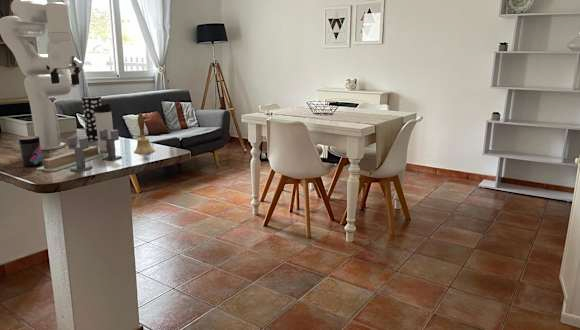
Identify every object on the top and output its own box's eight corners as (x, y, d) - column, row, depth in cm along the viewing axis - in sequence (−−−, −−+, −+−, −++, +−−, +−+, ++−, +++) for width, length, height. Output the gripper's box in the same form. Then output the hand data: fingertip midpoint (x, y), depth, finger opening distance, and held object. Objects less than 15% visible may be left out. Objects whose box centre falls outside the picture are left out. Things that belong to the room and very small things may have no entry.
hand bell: (134, 154, 177) (130, 115, 173) (133, 150, 185) (129, 113, 181) (155, 152, 181) (152, 114, 177) (153, 148, 188) (150, 111, 184)
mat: (36, 170, 155) (36, 168, 155) (89, 154, 179) (89, 152, 179) (54, 171, 153) (54, 170, 153) (106, 155, 177) (105, 153, 177)
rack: (69, 170, 154) (64, 138, 151) (110, 157, 173) (106, 128, 170) (83, 171, 152) (78, 139, 149) (122, 158, 171) (119, 129, 169)
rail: (44, 168, 155) (42, 159, 155) (92, 153, 177) (91, 146, 177) (50, 168, 154) (49, 160, 154) (98, 153, 177) (97, 146, 176)
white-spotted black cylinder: (93, 137, 214) (88, 96, 209) (109, 137, 213) (104, 96, 208) (83, 141, 207) (77, 98, 202) (99, 141, 205) (94, 98, 200)
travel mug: (110, 153, 180) (105, 104, 175) (96, 152, 181) (90, 104, 176) (119, 150, 186) (114, 102, 181) (105, 149, 187) (99, 102, 182)
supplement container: (27, 168, 157) (22, 140, 155) (19, 166, 161) (14, 138, 159) (46, 164, 162) (42, 137, 160) (38, 162, 166) (34, 135, 164)
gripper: (33, 37, 163) (40, 83, 168) (70, 37, 158) (76, 86, 162) (50, 37, 170) (55, 82, 174) (86, 38, 165) (91, 84, 169)
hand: (65, 84), depth 168 cm, fingers open, 9 cm apart
